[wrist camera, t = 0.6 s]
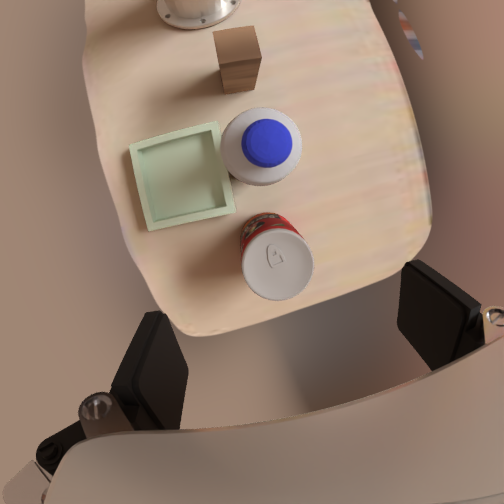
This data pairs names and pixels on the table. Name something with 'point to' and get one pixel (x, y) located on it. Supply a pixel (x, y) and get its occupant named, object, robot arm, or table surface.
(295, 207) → the table surface
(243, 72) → the walnut post
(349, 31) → the table surface
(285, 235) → the canned food
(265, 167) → the bottle
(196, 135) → the tray
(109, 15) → the table surface
